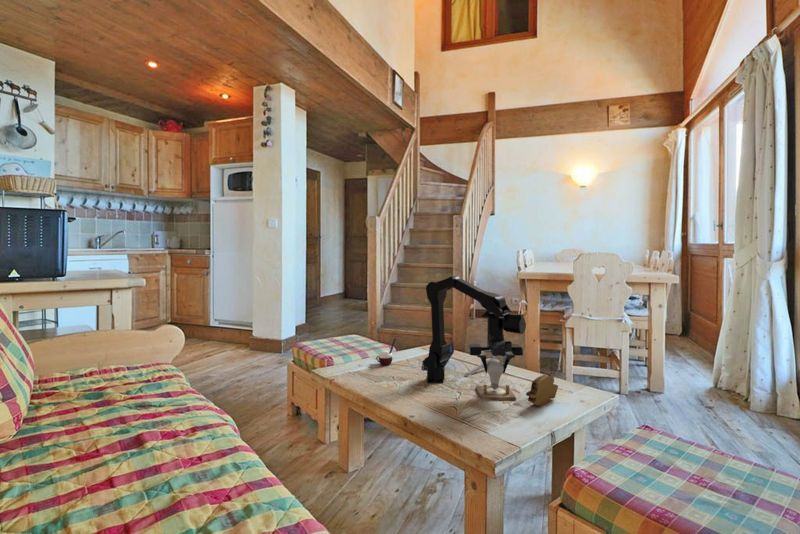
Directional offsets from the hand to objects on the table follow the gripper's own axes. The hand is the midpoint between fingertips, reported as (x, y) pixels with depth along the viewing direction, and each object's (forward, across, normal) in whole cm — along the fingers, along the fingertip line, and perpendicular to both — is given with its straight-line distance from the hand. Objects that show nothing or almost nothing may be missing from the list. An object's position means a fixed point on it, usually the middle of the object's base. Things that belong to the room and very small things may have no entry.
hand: (494, 373), depth 154 cm
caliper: (+8, -1, +27) cm, 28 cm away
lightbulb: (+6, 0, 0) cm, 6 cm away
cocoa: (+8, -42, +37) cm, 56 cm away
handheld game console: (+8, -18, +36) cm, 41 cm away
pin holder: (+8, 0, 0) cm, 8 cm away
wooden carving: (+8, +14, -9) cm, 19 cm away
